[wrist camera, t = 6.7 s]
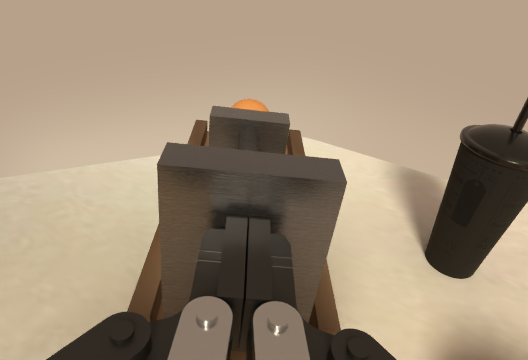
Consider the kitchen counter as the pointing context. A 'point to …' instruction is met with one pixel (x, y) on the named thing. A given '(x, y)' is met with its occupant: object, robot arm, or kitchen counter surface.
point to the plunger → (245, 199)
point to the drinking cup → (480, 196)
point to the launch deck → (150, 282)
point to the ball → (250, 105)
